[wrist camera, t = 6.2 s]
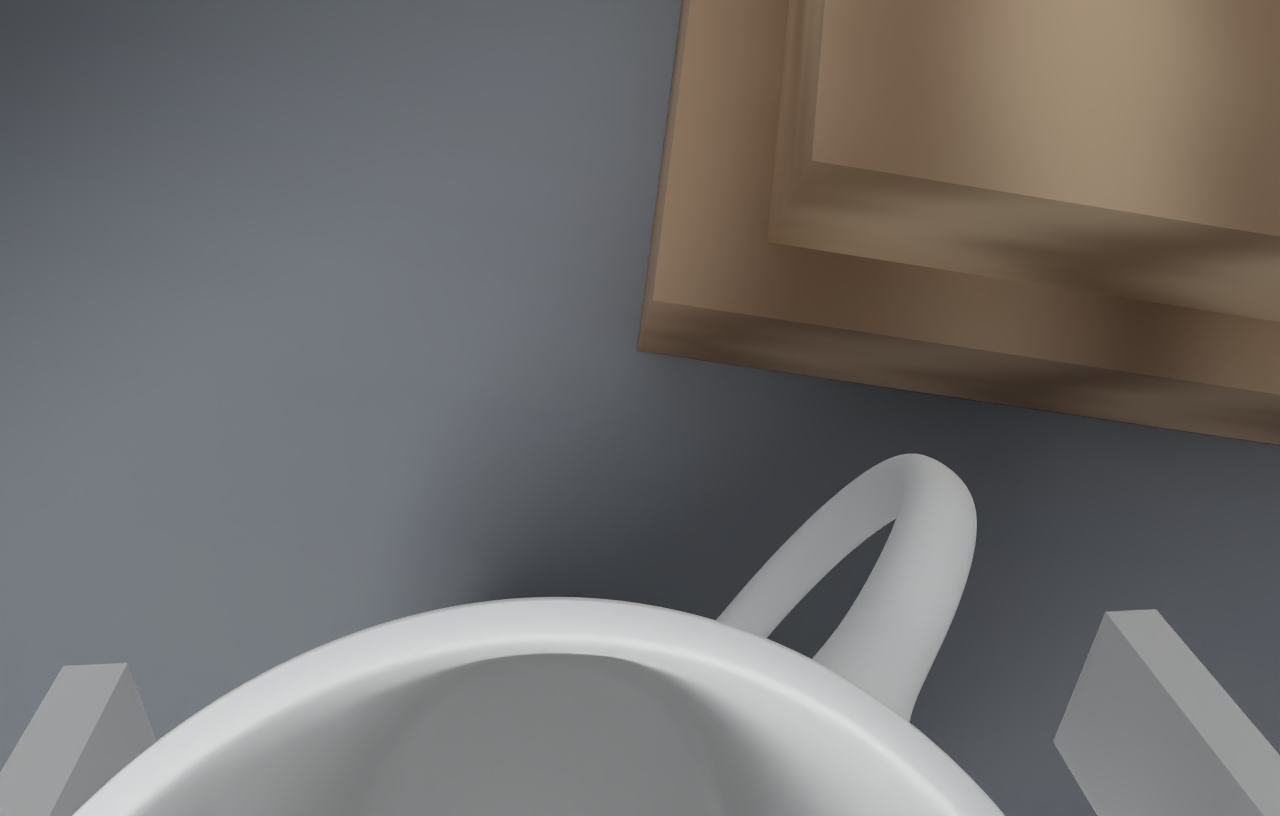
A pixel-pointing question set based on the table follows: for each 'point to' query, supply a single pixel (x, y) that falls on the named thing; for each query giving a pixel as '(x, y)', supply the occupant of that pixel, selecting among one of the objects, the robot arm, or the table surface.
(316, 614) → the table surface
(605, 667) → the mug
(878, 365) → the pedestal
